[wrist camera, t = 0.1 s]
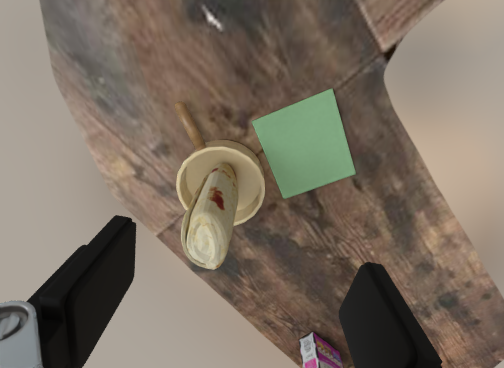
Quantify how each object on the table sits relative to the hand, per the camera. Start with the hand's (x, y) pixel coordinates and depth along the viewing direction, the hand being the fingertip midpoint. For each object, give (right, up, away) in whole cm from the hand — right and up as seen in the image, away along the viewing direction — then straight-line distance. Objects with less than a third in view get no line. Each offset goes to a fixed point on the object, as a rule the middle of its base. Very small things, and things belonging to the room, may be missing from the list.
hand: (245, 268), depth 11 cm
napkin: (+10, +10, +36) cm, 39 cm away
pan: (-5, +4, +39) cm, 40 cm away
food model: (-5, +4, +39) cm, 39 cm away
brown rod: (-9, +13, +32) cm, 36 cm away
